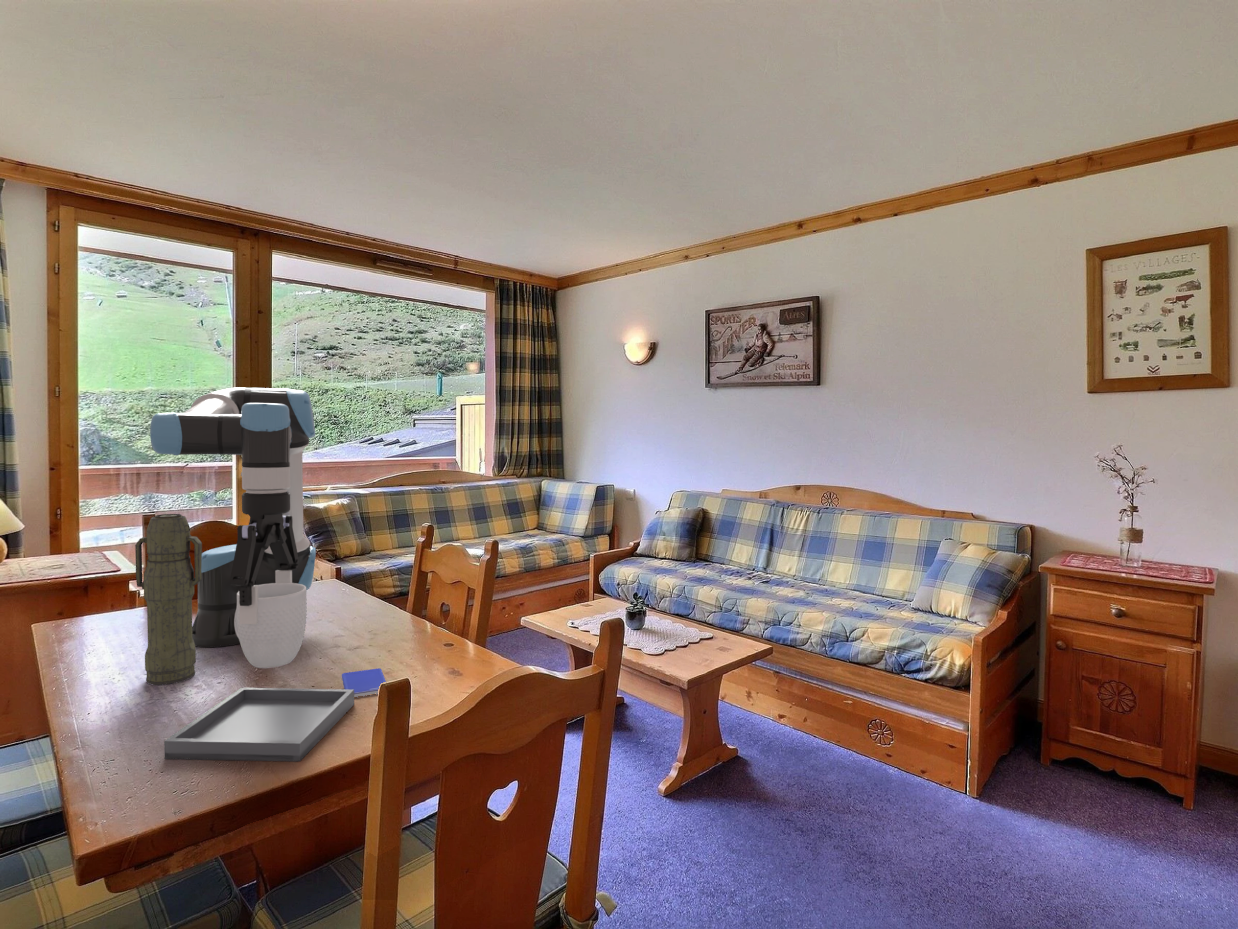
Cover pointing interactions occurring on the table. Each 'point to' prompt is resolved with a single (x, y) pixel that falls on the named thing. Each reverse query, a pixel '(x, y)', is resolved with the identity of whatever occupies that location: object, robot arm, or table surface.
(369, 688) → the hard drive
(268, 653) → the mug
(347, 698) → the tray
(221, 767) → the table surface
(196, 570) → the thermos
